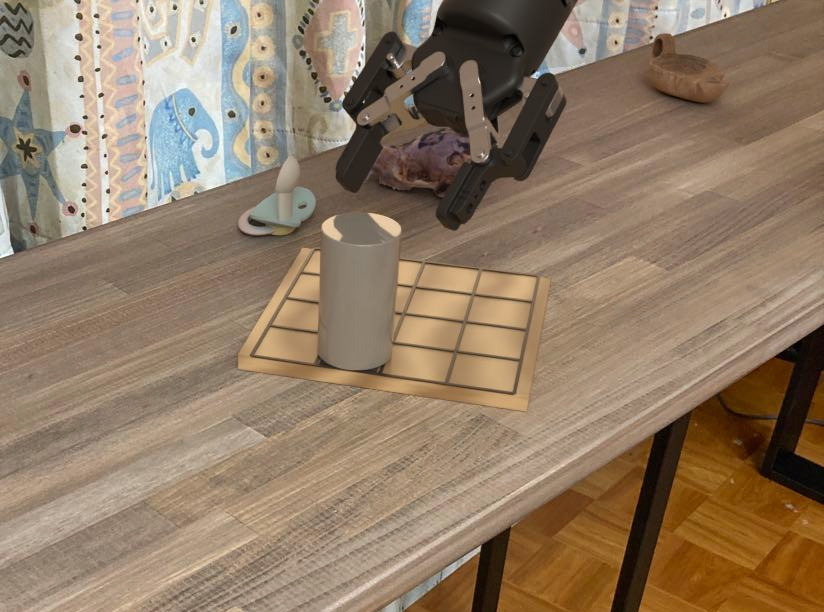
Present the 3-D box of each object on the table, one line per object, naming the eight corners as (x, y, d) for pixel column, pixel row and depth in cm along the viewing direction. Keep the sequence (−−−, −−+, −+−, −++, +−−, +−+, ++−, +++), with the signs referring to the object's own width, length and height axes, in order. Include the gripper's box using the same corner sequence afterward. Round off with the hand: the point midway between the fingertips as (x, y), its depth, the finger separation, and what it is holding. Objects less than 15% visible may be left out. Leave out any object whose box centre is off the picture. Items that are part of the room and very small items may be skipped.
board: (549, 291, 88) (552, 276, 87) (526, 413, 74) (529, 395, 74) (302, 260, 92) (302, 245, 91) (237, 370, 78) (236, 353, 77)
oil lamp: (739, 109, 122) (751, 61, 119) (676, 113, 121) (687, 65, 118) (681, 73, 132) (691, 28, 129) (622, 76, 131) (631, 31, 128)
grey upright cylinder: (398, 339, 79) (408, 216, 74) (384, 375, 75) (393, 249, 70) (326, 329, 80) (331, 207, 75) (309, 364, 76) (312, 239, 71)
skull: (348, 184, 103) (358, 114, 100) (374, 167, 110) (384, 101, 106) (475, 211, 100) (489, 140, 97) (494, 193, 106) (508, 125, 103)
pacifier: (225, 238, 96) (290, 248, 94) (221, 165, 92) (289, 174, 90) (259, 207, 101) (322, 215, 99) (257, 136, 97) (322, 144, 95)
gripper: (411, -75, 73) (286, 146, 74) (601, -39, 65) (459, 208, 66) (454, -1, 79) (338, 202, 80) (632, 39, 71) (502, 264, 72)
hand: (393, 204), depth 73 cm, fingers open, 8 cm apart
